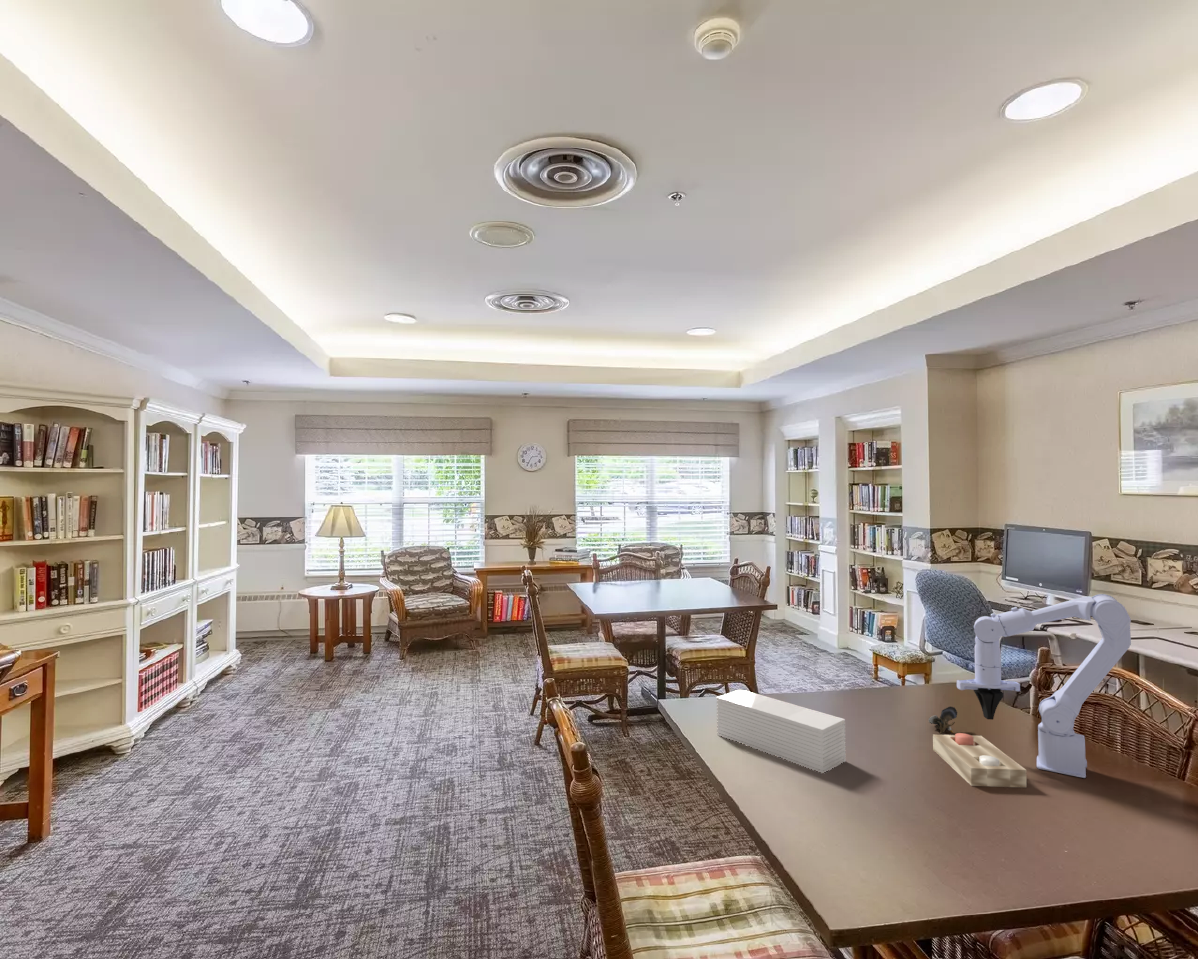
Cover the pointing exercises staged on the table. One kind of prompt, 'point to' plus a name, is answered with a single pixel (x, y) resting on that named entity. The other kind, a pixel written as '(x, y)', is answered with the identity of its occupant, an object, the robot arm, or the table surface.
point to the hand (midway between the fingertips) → (988, 718)
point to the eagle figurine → (944, 719)
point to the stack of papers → (782, 729)
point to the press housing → (971, 769)
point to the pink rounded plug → (964, 739)
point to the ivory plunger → (988, 760)
